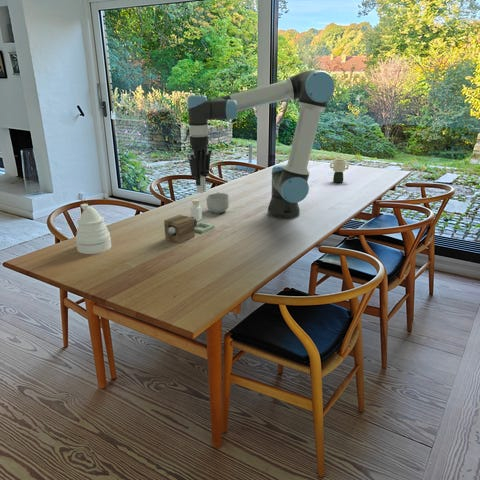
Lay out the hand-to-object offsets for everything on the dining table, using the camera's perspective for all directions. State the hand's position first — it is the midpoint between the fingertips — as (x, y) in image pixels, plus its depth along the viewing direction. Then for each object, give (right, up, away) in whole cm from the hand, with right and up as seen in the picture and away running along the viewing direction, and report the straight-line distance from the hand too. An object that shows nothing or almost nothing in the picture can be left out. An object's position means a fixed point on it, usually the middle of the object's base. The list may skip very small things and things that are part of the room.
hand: (201, 191), depth 190 cm
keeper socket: (0, -15, +5) cm, 16 cm away
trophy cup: (+75, +14, +80) cm, 111 cm away
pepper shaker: (-4, -11, +16) cm, 20 cm away
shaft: (-7, -17, -5) cm, 19 cm away
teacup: (+6, -6, +30) cm, 31 cm away
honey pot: (-41, -23, -14) cm, 49 cm away
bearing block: (-8, -20, -5) cm, 22 cm away
